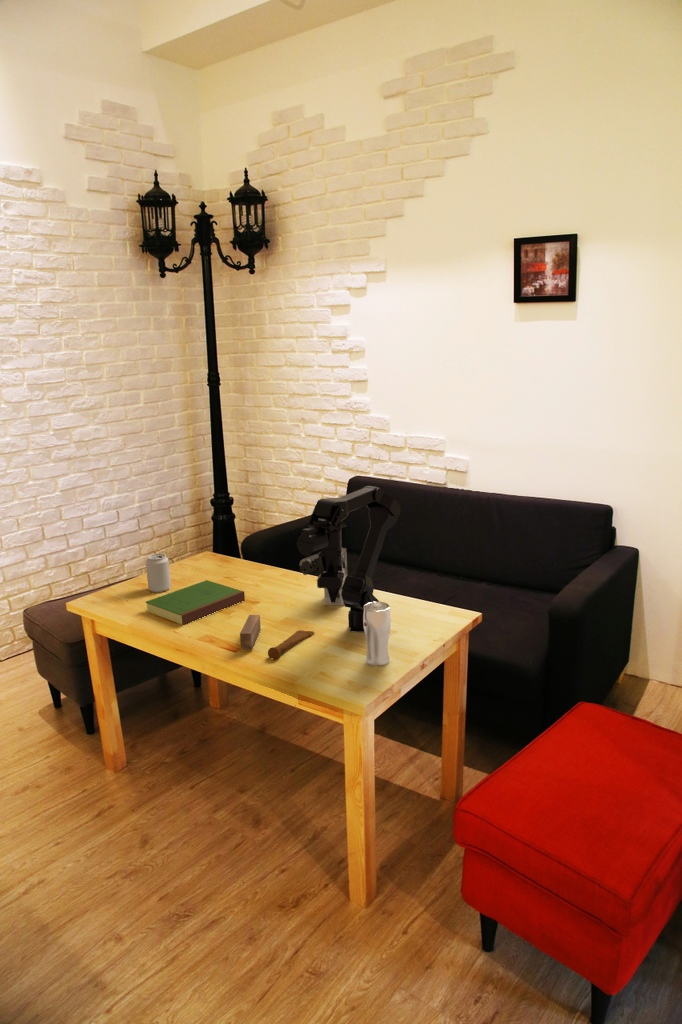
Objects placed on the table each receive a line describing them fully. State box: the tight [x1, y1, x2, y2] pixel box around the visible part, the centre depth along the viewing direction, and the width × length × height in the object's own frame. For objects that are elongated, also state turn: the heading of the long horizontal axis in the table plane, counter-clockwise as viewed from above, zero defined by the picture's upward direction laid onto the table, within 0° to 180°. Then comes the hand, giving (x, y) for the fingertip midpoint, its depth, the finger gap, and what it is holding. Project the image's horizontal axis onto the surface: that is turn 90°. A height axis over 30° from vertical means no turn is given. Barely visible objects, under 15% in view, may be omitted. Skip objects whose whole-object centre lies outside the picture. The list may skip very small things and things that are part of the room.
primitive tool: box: [267, 629, 315, 660], centre depth 193 cm, size 19×6×4 cm, turn 157°
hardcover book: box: [145, 579, 246, 626], centre depth 224 cm, size 25×19×4 cm
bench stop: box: [239, 614, 262, 651], centre depth 196 cm, size 3×13×5 cm, turn 176°
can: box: [145, 553, 172, 593], centre depth 239 cm, size 8×8×12 cm
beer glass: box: [363, 601, 392, 667], centre depth 180 cm, size 7×7×15 cm
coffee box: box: [323, 547, 348, 606], centre depth 223 cm, size 9×6×16 cm
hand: (333, 601), depth 191 cm, fingers closed
